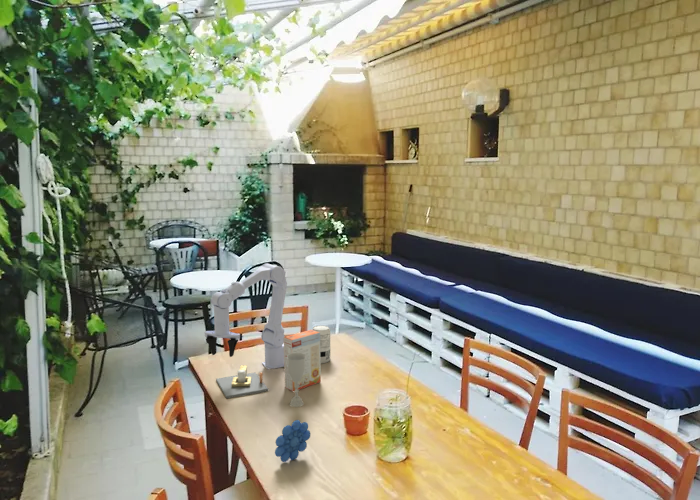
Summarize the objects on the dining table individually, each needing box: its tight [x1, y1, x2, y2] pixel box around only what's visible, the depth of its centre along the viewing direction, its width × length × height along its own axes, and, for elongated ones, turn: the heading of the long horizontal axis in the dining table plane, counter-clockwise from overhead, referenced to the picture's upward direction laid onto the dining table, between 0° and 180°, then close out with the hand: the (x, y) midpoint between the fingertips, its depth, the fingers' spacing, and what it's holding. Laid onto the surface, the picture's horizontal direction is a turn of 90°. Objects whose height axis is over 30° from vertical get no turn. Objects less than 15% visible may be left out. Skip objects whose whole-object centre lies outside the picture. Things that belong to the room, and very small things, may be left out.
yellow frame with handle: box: [232, 364, 252, 387], centre depth 215 cm, size 12×7×4 cm, turn 6°
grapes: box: [274, 419, 311, 463], centre depth 160 cm, size 12×7×12 cm, turn 124°
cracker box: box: [283, 329, 322, 393], centre depth 213 cm, size 14×6×21 cm, turn 133°
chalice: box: [287, 353, 306, 408], centre depth 196 cm, size 7×7×18 cm
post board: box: [215, 370, 269, 399], centre depth 213 cm, size 16×18×6 cm
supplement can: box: [312, 325, 331, 364], centre depth 240 cm, size 8×8×15 cm
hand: (222, 355), depth 218 cm, fingers open, 7 cm apart
